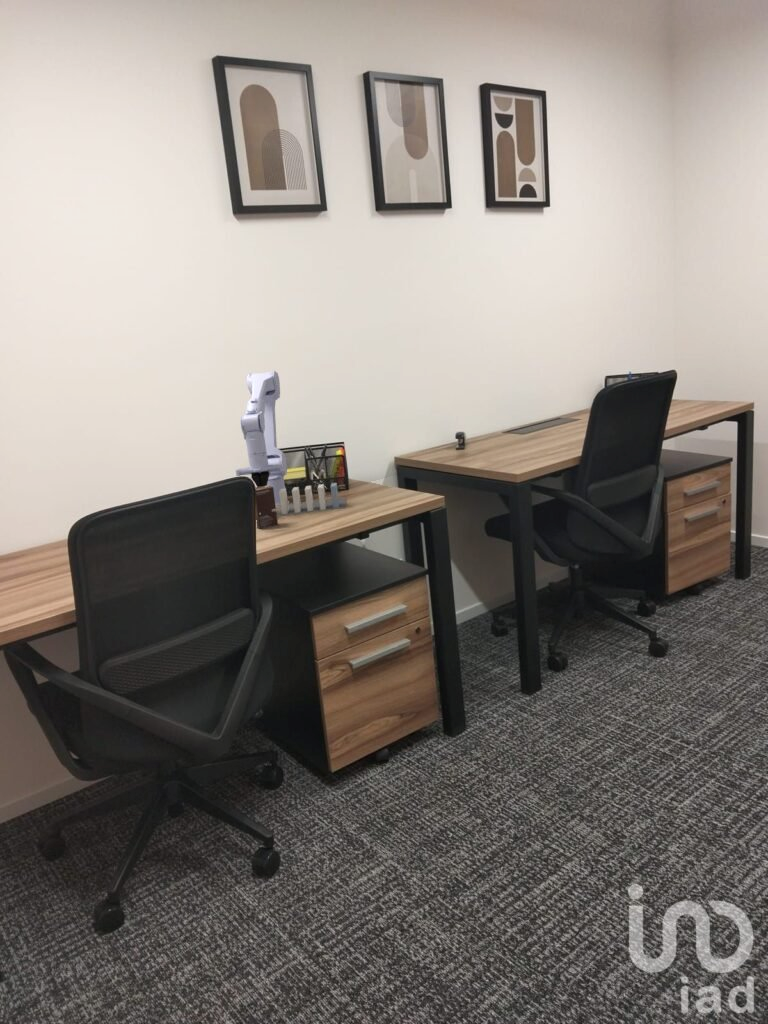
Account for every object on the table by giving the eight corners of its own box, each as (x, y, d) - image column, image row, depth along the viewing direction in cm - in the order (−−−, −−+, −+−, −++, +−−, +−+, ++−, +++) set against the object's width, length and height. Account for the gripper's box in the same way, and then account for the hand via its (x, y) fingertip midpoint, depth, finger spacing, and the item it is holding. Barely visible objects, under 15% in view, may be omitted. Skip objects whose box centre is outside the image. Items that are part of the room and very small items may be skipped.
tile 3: (307, 511, 228) (304, 489, 227) (309, 507, 233) (306, 486, 232) (312, 510, 228) (309, 488, 227) (314, 507, 233) (311, 485, 232)
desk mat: (274, 517, 227) (274, 516, 227) (280, 506, 242) (280, 505, 242) (345, 509, 227) (345, 508, 227) (347, 498, 241) (346, 497, 241)
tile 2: (295, 512, 228) (291, 490, 227) (296, 509, 233) (293, 487, 232) (300, 512, 228) (296, 490, 227) (301, 508, 233) (298, 486, 232)
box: (260, 531, 213) (254, 490, 210) (254, 528, 216) (248, 488, 213) (279, 526, 216) (273, 486, 213) (273, 523, 219) (267, 484, 216)
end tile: (333, 508, 228) (330, 486, 227) (334, 504, 233) (331, 483, 232) (338, 507, 228) (335, 485, 227) (339, 504, 233) (336, 482, 231)
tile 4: (320, 509, 228) (317, 487, 227) (321, 506, 233) (318, 484, 232) (325, 509, 228) (322, 487, 227) (326, 505, 233) (323, 484, 232)
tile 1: (282, 514, 228) (278, 492, 227) (284, 510, 233) (280, 488, 232) (287, 513, 228) (284, 491, 227) (289, 509, 233) (285, 488, 232)
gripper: (231, 457, 223) (238, 501, 226) (279, 452, 222) (285, 496, 226) (235, 454, 229) (242, 496, 233) (281, 448, 229) (288, 491, 232)
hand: (263, 495), depth 230 cm, fingers closed
